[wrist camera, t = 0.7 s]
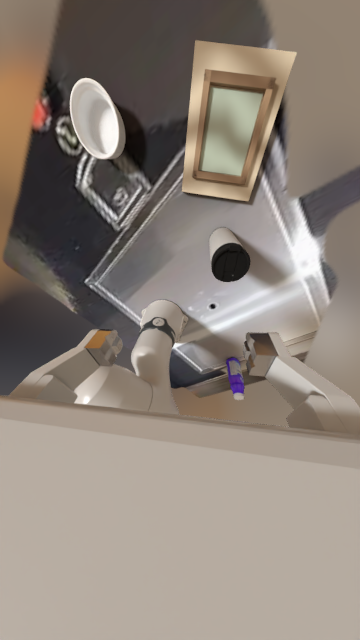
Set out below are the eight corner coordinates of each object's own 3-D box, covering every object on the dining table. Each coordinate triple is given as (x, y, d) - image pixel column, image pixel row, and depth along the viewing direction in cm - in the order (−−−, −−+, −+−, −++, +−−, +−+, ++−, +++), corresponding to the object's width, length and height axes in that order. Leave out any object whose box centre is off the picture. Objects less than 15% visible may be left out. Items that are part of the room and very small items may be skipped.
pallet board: (246, 201, 34) (249, 201, 32) (182, 191, 34) (181, 191, 32) (292, 59, 22) (300, 47, 21) (195, 48, 23) (195, 34, 21)
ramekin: (129, 167, 33) (121, 163, 29) (90, 157, 32) (77, 153, 29) (127, 98, 27) (116, 84, 23) (79, 86, 27) (61, 71, 23)
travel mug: (235, 225, 37) (257, 245, 22) (230, 253, 41) (245, 286, 26) (210, 225, 37) (214, 244, 22) (207, 252, 42) (209, 284, 26)
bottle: (241, 363, 72) (250, 400, 59) (230, 366, 75) (236, 402, 62) (234, 355, 69) (242, 392, 56) (223, 358, 72) (228, 395, 58)
